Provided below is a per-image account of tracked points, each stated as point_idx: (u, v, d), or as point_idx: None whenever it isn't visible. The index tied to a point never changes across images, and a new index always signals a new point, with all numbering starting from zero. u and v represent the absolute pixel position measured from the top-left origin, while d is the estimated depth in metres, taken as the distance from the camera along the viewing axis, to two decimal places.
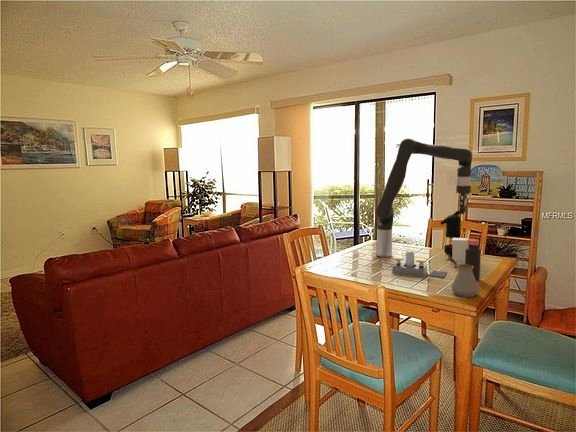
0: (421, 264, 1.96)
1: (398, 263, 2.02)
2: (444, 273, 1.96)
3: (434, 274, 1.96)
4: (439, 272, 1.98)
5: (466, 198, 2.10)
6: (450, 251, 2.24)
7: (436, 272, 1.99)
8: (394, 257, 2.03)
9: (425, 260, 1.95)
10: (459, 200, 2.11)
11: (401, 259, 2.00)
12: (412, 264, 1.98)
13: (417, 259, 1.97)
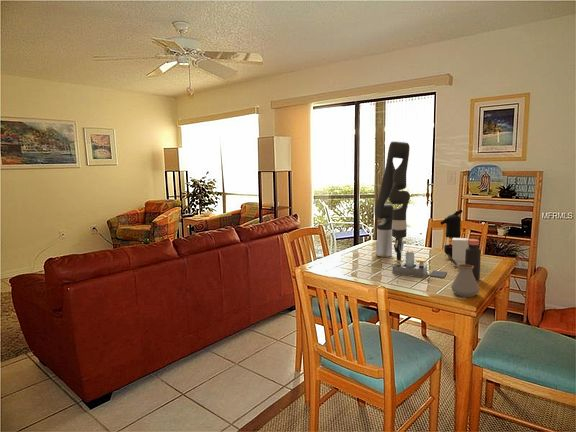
0: (421, 264, 1.96)
1: None
2: (444, 273, 1.96)
3: (434, 274, 1.96)
4: (439, 272, 1.98)
5: (401, 243, 1.99)
6: (450, 251, 2.24)
7: (436, 272, 1.99)
8: (394, 259, 2.03)
9: (425, 260, 1.95)
10: None
11: (401, 261, 2.00)
12: (412, 264, 1.98)
13: (417, 259, 1.97)
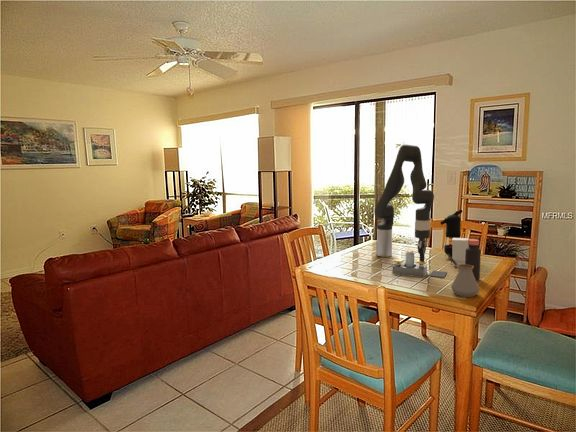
0: (421, 265, 1.96)
1: None
2: (444, 273, 1.96)
3: (434, 274, 1.96)
4: (439, 272, 1.98)
5: (425, 244, 1.93)
6: (450, 251, 2.24)
7: (436, 272, 1.99)
8: (394, 260, 2.03)
9: (425, 261, 1.95)
10: None
11: (401, 262, 2.00)
12: (412, 264, 1.98)
13: (417, 260, 1.97)
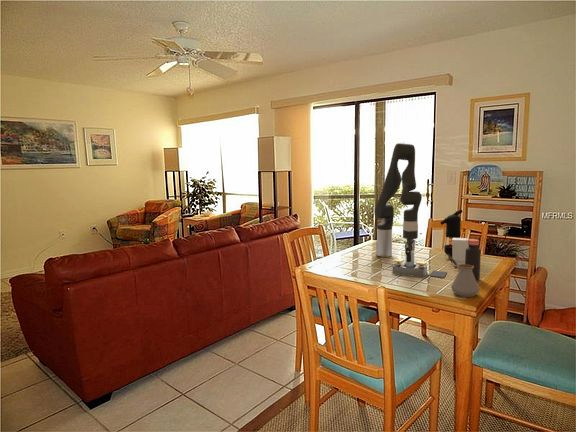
0: (421, 267, 1.96)
1: None
2: (444, 273, 1.96)
3: (434, 274, 1.96)
4: (439, 272, 1.98)
5: (412, 244, 1.96)
6: (450, 251, 2.24)
7: (436, 272, 1.99)
8: (394, 260, 2.03)
9: (425, 263, 1.95)
10: None
11: (401, 262, 2.00)
12: (412, 264, 1.98)
13: (417, 262, 1.97)
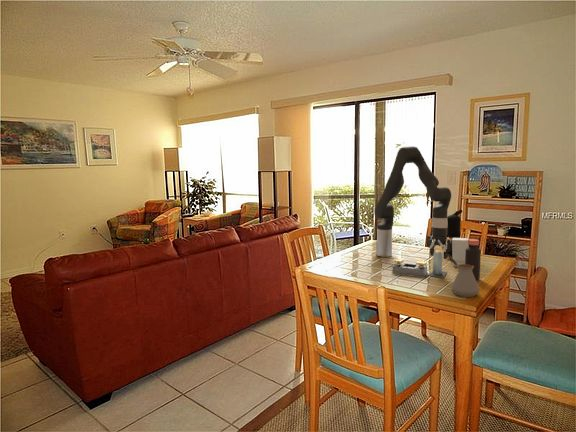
0: (421, 267, 1.96)
1: None
2: (444, 273, 1.96)
3: (434, 274, 1.96)
4: None
5: None
6: (450, 251, 2.24)
7: None
8: (394, 260, 2.03)
9: (425, 263, 1.95)
10: (442, 244, 1.91)
11: (401, 262, 2.00)
12: None
13: (417, 262, 1.97)
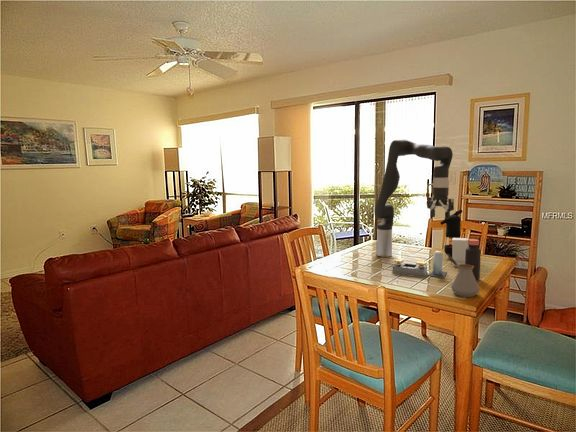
0: (421, 267, 1.96)
1: None
2: (444, 273, 1.96)
3: (434, 274, 1.96)
4: None
5: None
6: (450, 251, 2.24)
7: None
8: (394, 260, 2.03)
9: (425, 263, 1.95)
10: (443, 204, 1.88)
11: (401, 262, 2.00)
12: None
13: (417, 262, 1.97)
